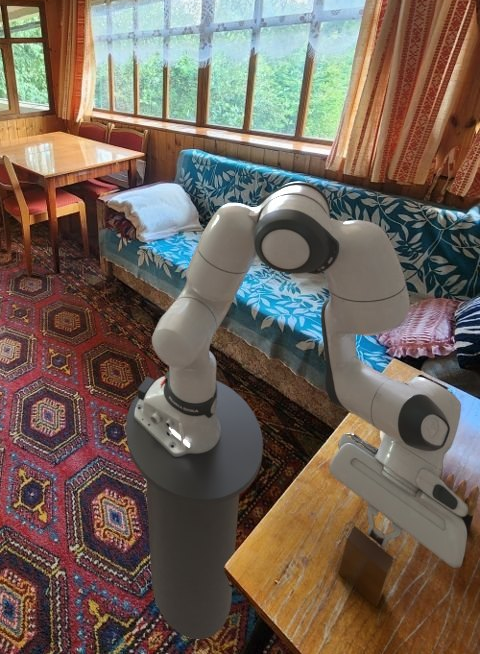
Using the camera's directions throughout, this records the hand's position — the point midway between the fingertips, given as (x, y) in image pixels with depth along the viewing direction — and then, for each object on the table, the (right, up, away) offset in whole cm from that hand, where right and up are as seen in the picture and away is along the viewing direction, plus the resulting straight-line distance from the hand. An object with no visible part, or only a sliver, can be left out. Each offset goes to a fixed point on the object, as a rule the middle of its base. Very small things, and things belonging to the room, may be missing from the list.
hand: (375, 541), depth 65 cm
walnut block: (-3, -7, 0) cm, 8 cm away
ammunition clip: (+18, -3, +9) cm, 20 cm away
